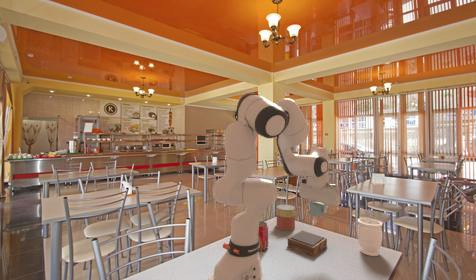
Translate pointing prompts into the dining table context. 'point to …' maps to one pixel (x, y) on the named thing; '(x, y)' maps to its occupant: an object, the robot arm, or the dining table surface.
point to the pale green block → (317, 209)
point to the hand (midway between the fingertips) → (318, 210)
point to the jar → (369, 236)
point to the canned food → (285, 217)
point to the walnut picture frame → (307, 242)
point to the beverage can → (263, 235)
